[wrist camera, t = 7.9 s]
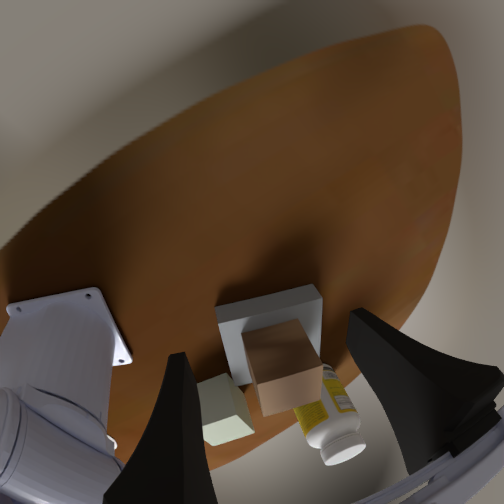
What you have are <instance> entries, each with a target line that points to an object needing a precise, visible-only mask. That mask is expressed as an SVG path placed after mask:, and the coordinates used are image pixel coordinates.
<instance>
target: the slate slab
mask: <svg viewBox="0 0 504 504" xmlns="http://www.w3.org/2000/svg"><path fill="white" fill-rule="evenodd" d="M322 300H323V298H322V296H321V295H320V294H319V292H318V291H317V289H316V288H315V286H314V285H313V284H309V285H305V286H301V287H297V288H293V289H289V290H285V291H281V292H277V293H273V294H269V295H265V296H261V297H256V298H252V299H248V300H243V301H239V302H235V303H230V304H226V305H221V306H217V307H215V311H216V316H217V320H218V325H219V329H220V333H221V337H222V341H223V344H224V348H225V352H226V356H227V360H228V363H229V367H230V371H231V374H232V378H233V381H234V385H235V387H236V386H240V385H244V384H248V383H253V382H252V379H251V376H250V373H249V369H248V365H247V360H246V355H245V351H244V346H243V341H242V336H241V333H244V332H248V331H252V330H256V329H260V328H264V327H268V326H271V325H275V324H279V323H283V322H286V321H290V320H294V319H297V318H298V320H299V321H300V323H301V325H302V327H303V329H304V330H305V332H306V334H307V336H308V338H309V340H310V341H311V343H312V345H313V347H314V349H315V351H316V352H317V354H318V356H319V357H320V341H321V323H322Z"/></svg>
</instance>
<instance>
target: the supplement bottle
mask: <svg viewBox="0 0 504 504" xmlns="http://www.w3.org/2000/svg"><path fill="white" fill-rule="evenodd" d="M293 409H294V412H295V414H296V416H297V419H298V421H299V424H300V426H301V428H302V431H303V433H304V436H305V438H306V440H307V442H308V444H309V445H310V446H312V447H314V448H321V451H320V453H321V457H322V458H323V461H324V463H325V464H326V465H335V464H338V463H341V462H344V461H346V460H348V459H350V458H352V457H354V456H356V455H357V454H359V453H360V452H361V451H362V450H363V449H364V448H365V447H366V444H365V442H364V440H363V438H362V436H361V434H360V433H358V432H356V431H357V430H358V428H359V426H360V423H361V420H360V416H359V414H358V412H357V411H356V409H355V407H354V405H353V404H352V402H351V400H350V398H349V396H348V395H347V393H346V391H345V389H344V387H343V386H342V384H341V382H340V380H339V379H338V377H337V375H336V373H335V371H334V370H333V369H332V367H331V366H329V365H327V364H323V375H322V386H321V397H320V400H318V401H315V402H312V403H309V404H306V405H303V406H299V407H296V408H293Z"/></svg>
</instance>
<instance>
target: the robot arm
mask: <svg viewBox="0 0 504 504" xmlns="http://www.w3.org/2000/svg"><path fill="white" fill-rule="evenodd" d="M87 294H90V295H91V296H87ZM19 308H20V309H19ZM6 310H7V312H8V314H9V315H10V317H11V318H10V319H9V321H8V323H7V325H6V327H5V329H4V331H3V333H2V335H1V337H0V504H218V502H217V498H216V495H215V492H214V488H213V484H212V480H211V476H210V472H209V468H208V463H207V459H206V454H205V447H204V438H203V427H202V416H201V405H200V398H199V393H198V388H197V383H196V380H195V377H194V375H193V372H192V370H191V367H190V364H189V362H188V359H187V357H186V354H185V352H181V353H176V354H170V356H169V357H168V362H167V367H166V371H165V375H164V379H163V382H162V386H161V389H160V392H159V395H158V398H157V401H156V404H155V407H154V409H153V412H152V415H151V417H150V420H149V422H148V425H147V427H146V429H145V431H144V433H143V435H142V437H141V439H140V441H139V443H138V445H137V447H136V449H135V451H134V452H133V454H132V456H131V457H130V459H129V460H128V462H127V464H126V465H125V464H124V463H123V462H122V461H121V460H120V459H118V458H117V457H115V456H114V442H113V441H112V440H110V439H109V438H108V437H107V417H108V404H109V393H110V384H111V375H112V366H116V365H124V364H130V363H132V360H133V358H132V355H131V353H130V352H129V350H128V348H127V346H126V344H125V342H124V340H123V338H122V336H121V334H120V332H119V330H118V328H117V326H116V324H115V322H114V320H113V318H112V315H111V313H110V311H109V309H108V307H107V304H106V302H105V300H104V298H103V295H102V293H101V291H100V290H99V289H98V288H96V287H91V288H86V289H81V290H76V291H71V292H66V293H61V294H56V295H51V296H46V297H41V298H36V299H31V300H26V301H21V302H16V303H11V304H8V306H7V308H6ZM346 344H347V347H348V349H349V351H350V353H351V355H352V357H353V359H354V361H355V363H356V365H357V366H358V368H359V369H360V371H361V372H362V374H363V375H364V377H365V378H366V380H367V381H368V383H369V385H370V386H371V387H372V389H373V391H374V392H375V393H376V395H377V397H378V399H379V401H380V402H381V404H382V406H383V408H384V410H385V412H386V415H387V417H388V419H389V421H390V423H391V425H392V428H393V430H394V432H395V435H396V438H397V441H398V443H399V446H400V449H401V452H402V455H403V458H404V461H405V465H406V468H407V472H408V474H409V475H410V476H408V477H406V478H405V479H403V480H401V481H399V482H397V483H395V484H394V485H391V486H389V487H387V488H385V489H384V490H381V491H379V492H377V493H375V494H373V495H371V496H369V497H367V498H364V499H362V500H360V501H357V502H355V503H352V504H387V503H389V502H391V501H393V500H395V499H397V498H399V497H401V496H402V495H404V494H406V493H408V492H410V491H411V490H413V489H415V488H417V487H418V486H420V485H422V484H423V483H425V482H427V481H428V480H429V482H428V485H427V486H425V487H424V488H422V489H420V490H419V491H417V492H416V493H414V494H413V495H411V496H410V497H408V498H407V499H406V500H404V501H402V502H401V503H399V504H465V503H466V502H467V501H469V500H470V499H471V498H472V497H473V496H474V495H476V494H477V493H478V492H479V491H480V490H481V489H482V488H483V487H484V486H485V485H486V484H487V483H489V481H490V480H492V479H493V478H494V476H496V475H497V474H498V472H499V471H501V469H502V468H503V467H504V405H503V406H502V407H501V408H500V409H499V410H498V411H496V410H495V409H494V408H495V407H496V403H495V402H494V401H493V400H494V399H495V398H496V396H497V395H498V394H499V392H500V391H501V390H502V388H503V387H504V374H503V373H502V372H501V371H500V370H499V368H498V367H497V366H490V365H483V364H478V363H473V362H469V361H465V360H462V359H458V358H455V357H452V356H449V355H447V354H444V353H441V352H439V351H437V350H434V349H432V348H430V347H428V346H425V345H423V344H421V343H419V342H418V341H416V340H414V339H412V338H410V337H409V336H407V335H405V334H403V333H402V332H400V331H398V330H397V329H395V328H394V327H392V326H390V325H389V324H387V323H386V322H384V321H383V320H381V319H380V318H378V317H377V316H375V315H373V314H372V313H370V312H369V311H367V310H366V309H364V308H358V309H355V310H352V311H350V318H349V325H348V331H347V338H346ZM121 359H123V360H121Z"/></svg>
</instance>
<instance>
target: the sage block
mask: <svg viewBox="0 0 504 504" xmlns="http://www.w3.org/2000/svg"><path fill="white" fill-rule="evenodd" d="M197 388H198V393H199V398H200V405H201V416H202V427H203V438H204V440H205V441H206V442H208V443H209V444H211V445H212V446H215V445H219V444H222V443H225V442H228V441H232V440H235V439H238V438H241V437H244V436H246V435H249V434H252V433H255V431H254V427H253V424H252V420H251V417H250V414H249V410H248V407H247V403H246V399H245V396H244V393H243V392H242V391H241V390H240V389H239V387H238V386H236V387H235V385H234V381H233V380H232V379H231V378H230V377H229V375H228V374H227V373H224V374H221V375H219V376H216V377H213V378H211V379H208V380H205V381H203V382H200V383H197Z"/></svg>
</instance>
